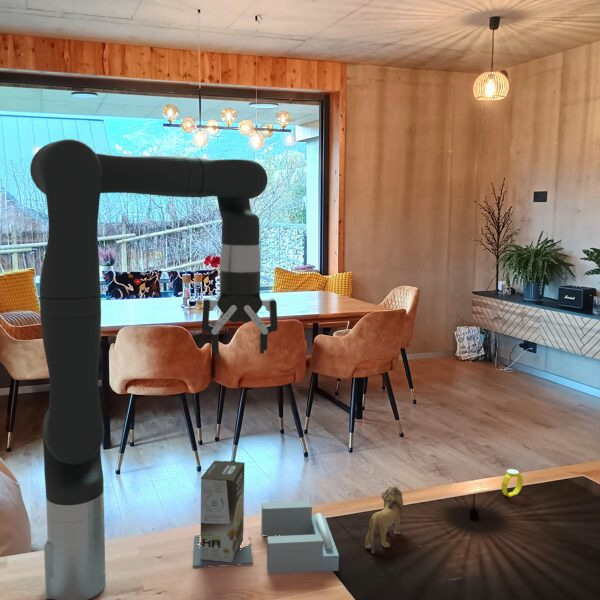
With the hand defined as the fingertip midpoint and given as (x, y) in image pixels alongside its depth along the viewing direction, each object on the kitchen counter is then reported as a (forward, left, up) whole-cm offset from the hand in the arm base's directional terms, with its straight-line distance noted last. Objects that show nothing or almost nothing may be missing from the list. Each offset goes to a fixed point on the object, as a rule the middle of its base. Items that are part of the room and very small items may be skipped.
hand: (239, 352), depth 124 cm
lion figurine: (+29, -2, -38) cm, 48 cm away
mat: (-3, -4, -38) cm, 38 cm away
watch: (+65, +15, -38) cm, 77 cm away
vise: (+12, -5, -38) cm, 40 cm away
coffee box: (-3, -4, -38) cm, 38 cm away
